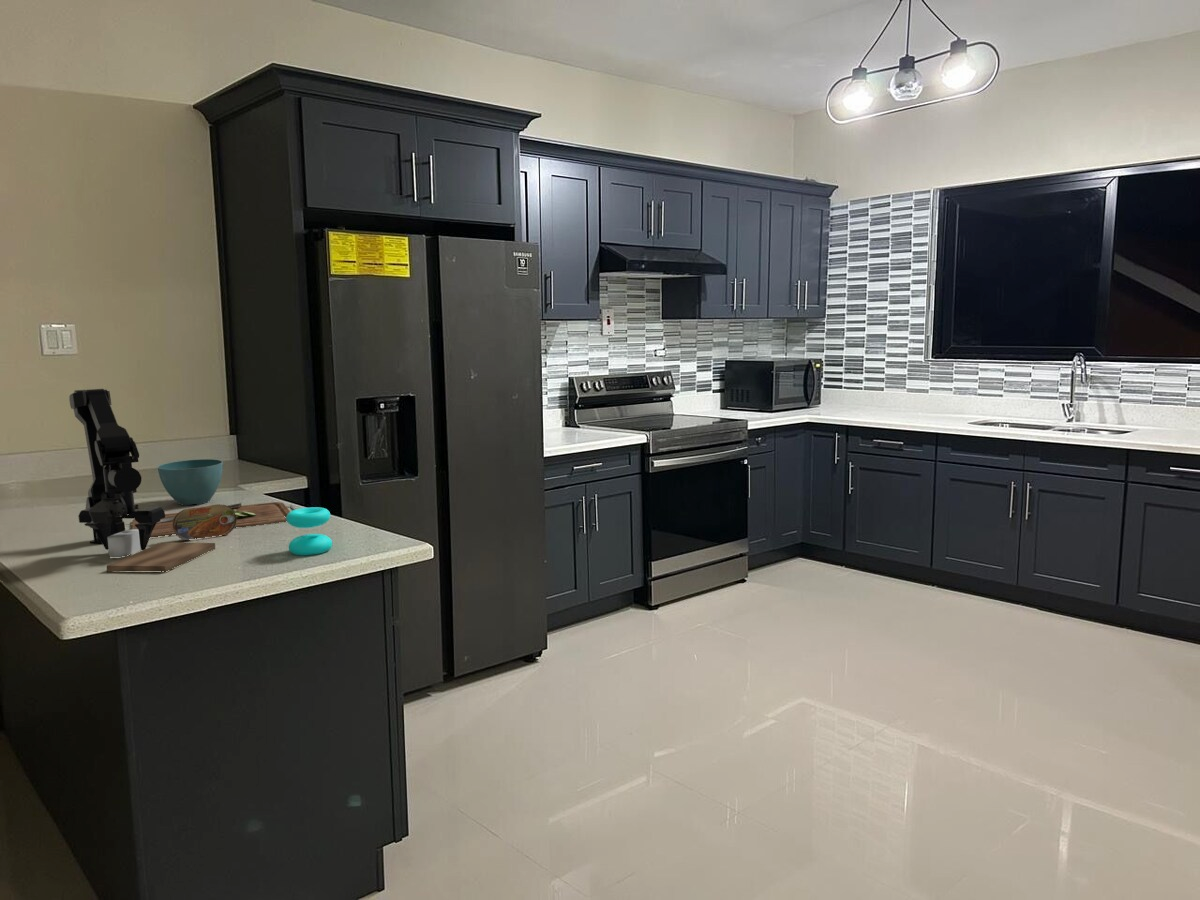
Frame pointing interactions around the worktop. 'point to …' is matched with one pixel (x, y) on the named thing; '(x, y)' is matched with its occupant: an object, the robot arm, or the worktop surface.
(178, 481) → the teal bowl
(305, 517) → the donuts
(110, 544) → the smooth grey rounded block
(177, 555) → the walnut board
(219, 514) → the tin
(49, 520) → the worktop surface
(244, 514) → the chopping board
